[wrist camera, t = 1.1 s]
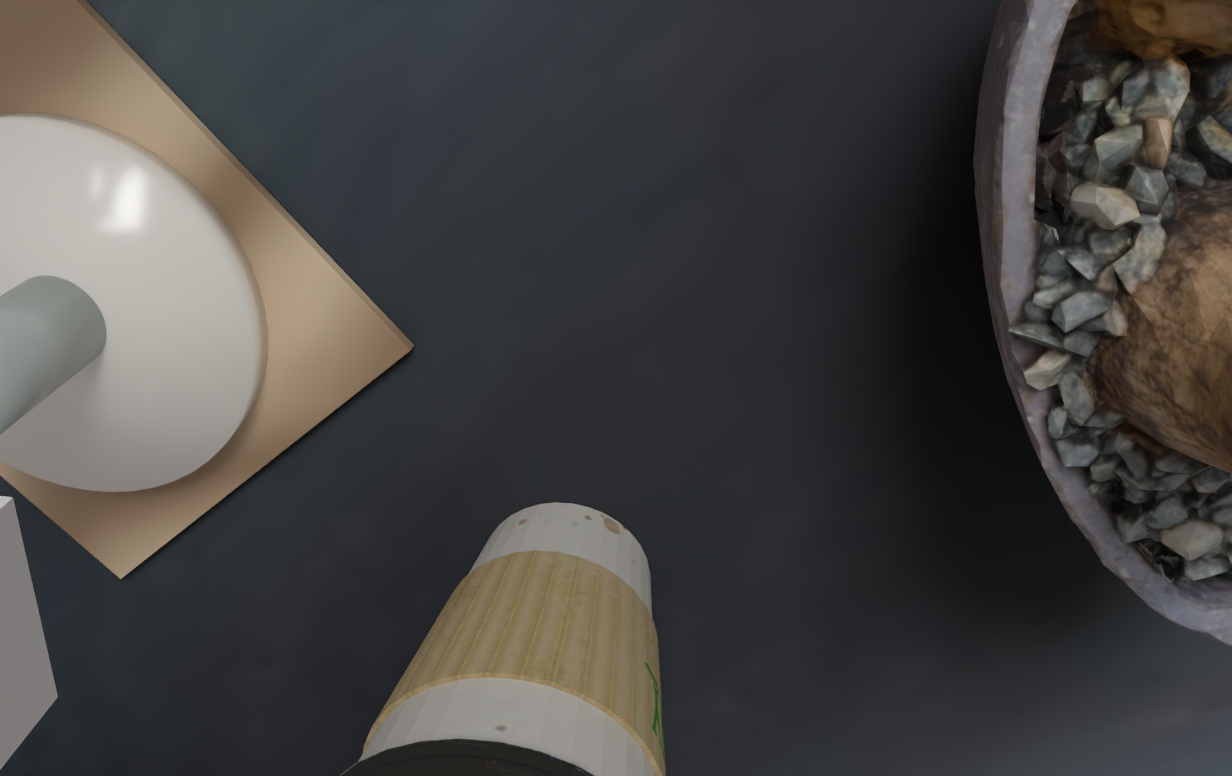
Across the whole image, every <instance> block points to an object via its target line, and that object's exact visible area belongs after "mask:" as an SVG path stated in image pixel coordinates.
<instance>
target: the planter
mask: <svg viewBox="0 0 1232 776" xmlns="http://www.w3.org/2000/svg"><path fill="white" fill-rule="evenodd" d="M973 166H974V175H975V189H974V191H975V199H976V206H977V214H978V222H979V231H980V241H981V250H982V259H983V268H984V276H985V283H986V288H987V294H988V299H989V305H990V311H991V316H992V322H993V327H994V332H995V336H996V340H997V344H998V348H999V351H1000V355H1001V359H1002V363H1003V367H1004V370H1005V374H1006V378H1007V382H1008V384H1009V386H1010V389H1011V391H1012V394H1013V396H1014V399H1015V401H1016V404H1017V407H1018V409H1019V412H1020V414H1021V417H1022V419H1023V422H1024V425H1025V427H1026V430H1027V432H1028V435H1029V438H1030V440H1031V442H1032V445H1033V447H1034V449H1035V451H1036V454H1037V456H1038V458H1039V460H1040V462H1041V464H1042V467H1043V469H1044V470H1045V472H1046V474H1047V476H1048V478H1049V480H1050V482H1051V484H1052V486H1053V488H1054V490H1055V492H1056V493H1057V495H1058V497H1059V499H1060V501H1061V502H1062V504H1063V506H1064V508H1065V510H1066V511H1067V513H1068V515H1069V517H1070V519H1071V520H1072V522H1074V523H1075V524H1076V525H1077V526H1078V528H1079V529H1080V530H1081V532H1082V533H1083V534H1084V536H1085V537H1086V538H1087V540H1088V541H1089V543H1090V544H1091V546H1092V547H1093V549H1094V551H1095V552H1096V554H1097V555H1098V557H1099V558H1100V560H1101V562H1102V563H1103V565H1104V566H1105V567H1107V568H1108V569H1109V570H1110V571H1112V572H1113V573H1114V574H1115V575H1116V576H1118V577H1119V578H1120V579H1121V580H1122V581H1123V582H1124V583H1125V584H1127V585H1128V586H1129V587H1130V588H1131V589H1132V590H1133V591H1134V592H1135V593H1136V594H1137V595H1138V596H1139V597H1140V598H1141V599H1142V600H1143V601H1144V602H1145V603H1146V604H1147V605H1148V606H1150V607H1151V608H1152V609H1154V610H1155V611H1157V612H1158V613H1160V614H1161V615H1163V616H1164V617H1165V618H1166V619H1167V620H1169V621H1170V622H1171V623H1174V624H1176V625H1179V626H1181V627H1183V628H1186V629H1188V630H1191V631H1193V632H1196V633H1198V634H1201V635H1204V636H1206V637H1209V638H1211V639H1214V640H1217V641H1219V642H1222V643H1225V644H1227V645H1232V0H1001V2H1000V6H999V9H998V12H997V15H996V18H995V22H994V25H993V28H992V32H991V37H990V42H989V46H988V51H987V56H986V61H985V66H984V71H983V77H982V82H981V88H980V94H979V103H978V113H977V123H976V134H975V146H974V157H973Z"/></svg>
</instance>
